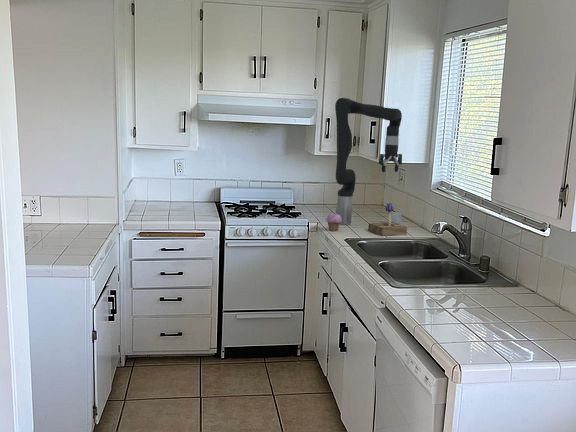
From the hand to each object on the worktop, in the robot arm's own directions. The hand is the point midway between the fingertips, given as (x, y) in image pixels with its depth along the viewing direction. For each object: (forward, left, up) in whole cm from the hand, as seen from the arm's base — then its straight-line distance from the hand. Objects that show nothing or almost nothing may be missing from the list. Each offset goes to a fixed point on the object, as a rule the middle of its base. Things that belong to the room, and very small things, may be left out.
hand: (389, 171), depth 338 cm
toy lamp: (+7, -3, -34) cm, 35 cm away
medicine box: (-6, +10, -34) cm, 36 cm away
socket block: (+8, -4, -34) cm, 35 cm away
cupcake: (-6, -32, -34) cm, 47 cm away
